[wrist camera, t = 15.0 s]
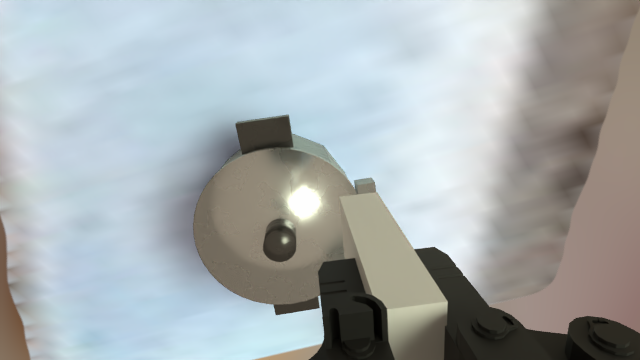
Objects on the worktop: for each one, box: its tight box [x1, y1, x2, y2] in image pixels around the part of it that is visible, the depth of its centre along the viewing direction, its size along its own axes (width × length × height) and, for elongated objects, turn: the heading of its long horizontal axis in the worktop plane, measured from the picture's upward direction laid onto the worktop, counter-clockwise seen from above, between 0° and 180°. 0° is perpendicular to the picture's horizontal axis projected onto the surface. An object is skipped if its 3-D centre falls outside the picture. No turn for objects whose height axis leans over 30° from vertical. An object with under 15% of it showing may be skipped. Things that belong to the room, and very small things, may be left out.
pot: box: [223, 115, 376, 315], centre depth 38 cm, size 22×18×9 cm
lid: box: [193, 147, 357, 304], centre depth 32 cm, size 17×18×4 cm
